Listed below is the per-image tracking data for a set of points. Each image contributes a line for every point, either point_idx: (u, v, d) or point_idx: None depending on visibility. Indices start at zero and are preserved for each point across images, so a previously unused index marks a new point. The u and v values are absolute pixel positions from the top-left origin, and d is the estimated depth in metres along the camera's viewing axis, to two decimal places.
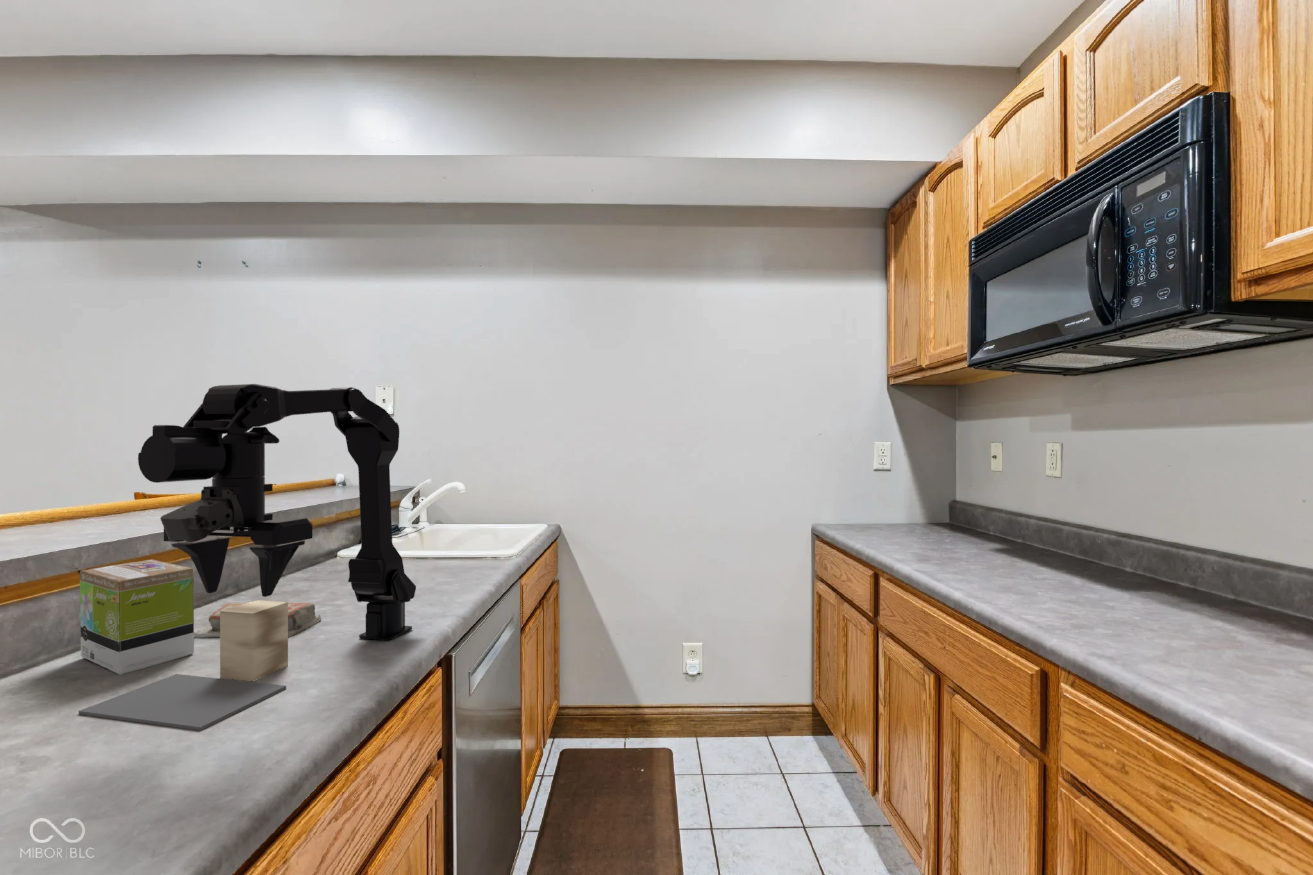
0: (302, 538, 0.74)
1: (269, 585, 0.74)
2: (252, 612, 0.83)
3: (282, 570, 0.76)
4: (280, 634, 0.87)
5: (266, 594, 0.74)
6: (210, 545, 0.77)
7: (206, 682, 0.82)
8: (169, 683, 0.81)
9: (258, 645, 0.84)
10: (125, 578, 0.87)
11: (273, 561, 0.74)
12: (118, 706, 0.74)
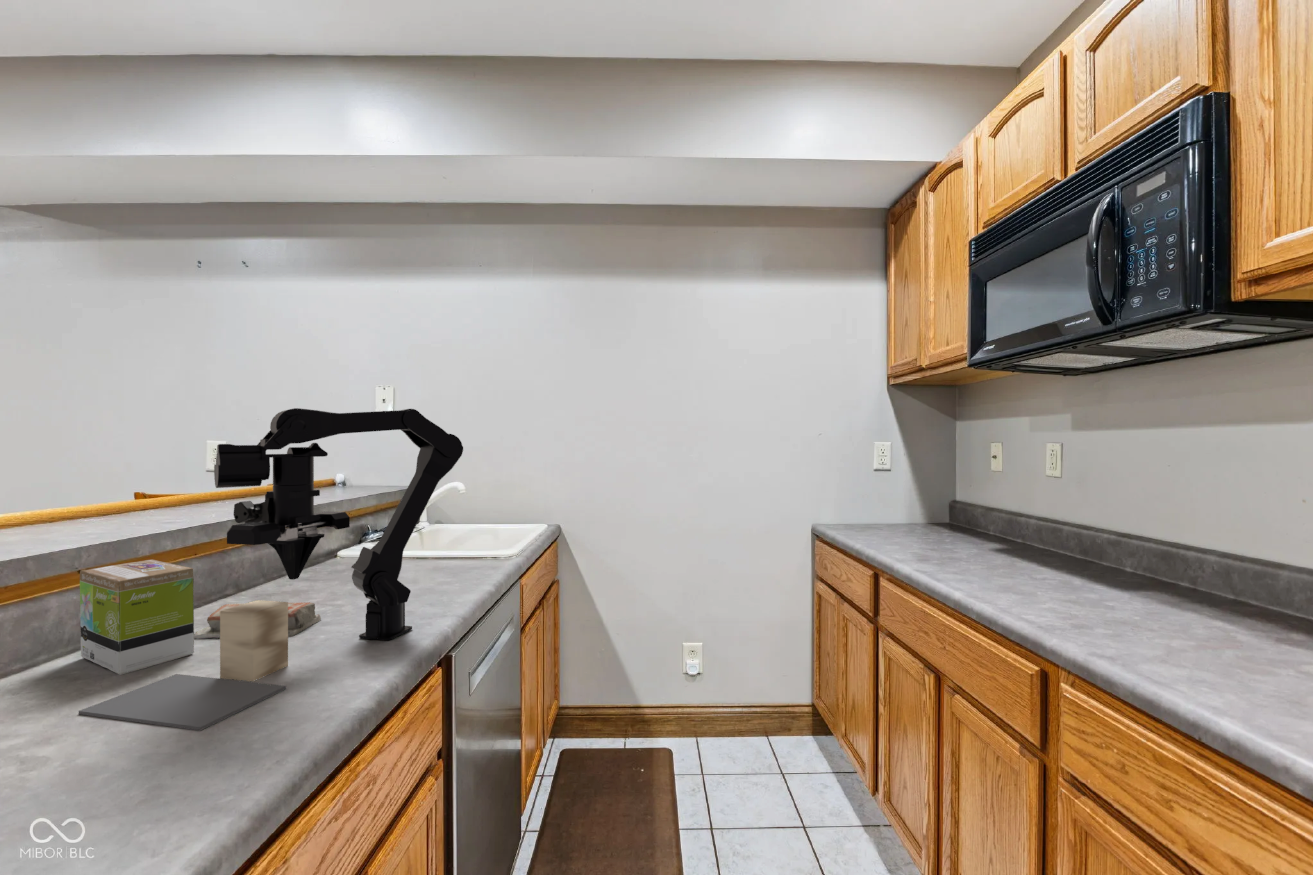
0: (245, 543, 0.84)
1: (288, 571, 0.93)
2: (252, 612, 0.83)
3: (293, 561, 0.92)
4: (280, 634, 0.87)
5: (289, 577, 0.93)
6: None
7: (206, 682, 0.82)
8: (169, 683, 0.81)
9: (258, 644, 0.84)
10: (125, 578, 0.87)
11: (285, 552, 0.92)
12: (118, 706, 0.74)
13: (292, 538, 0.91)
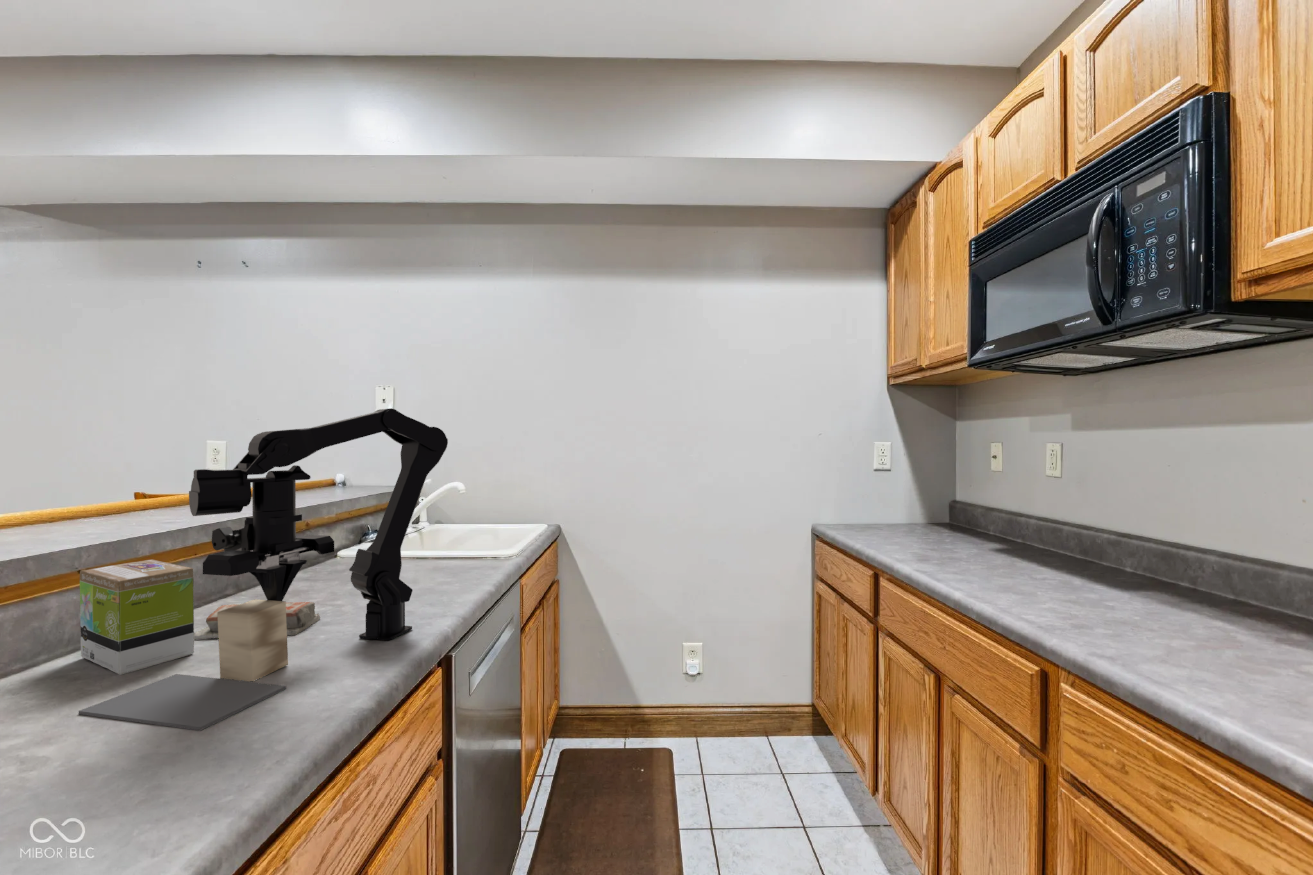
0: (221, 573, 0.81)
1: (269, 599, 0.89)
2: (249, 613, 0.83)
3: (274, 590, 0.88)
4: (279, 633, 0.87)
5: None
6: None
7: (206, 682, 0.82)
8: (169, 683, 0.81)
9: (256, 645, 0.83)
10: (125, 578, 0.87)
11: (266, 580, 0.89)
12: (118, 706, 0.74)
13: (273, 566, 0.87)
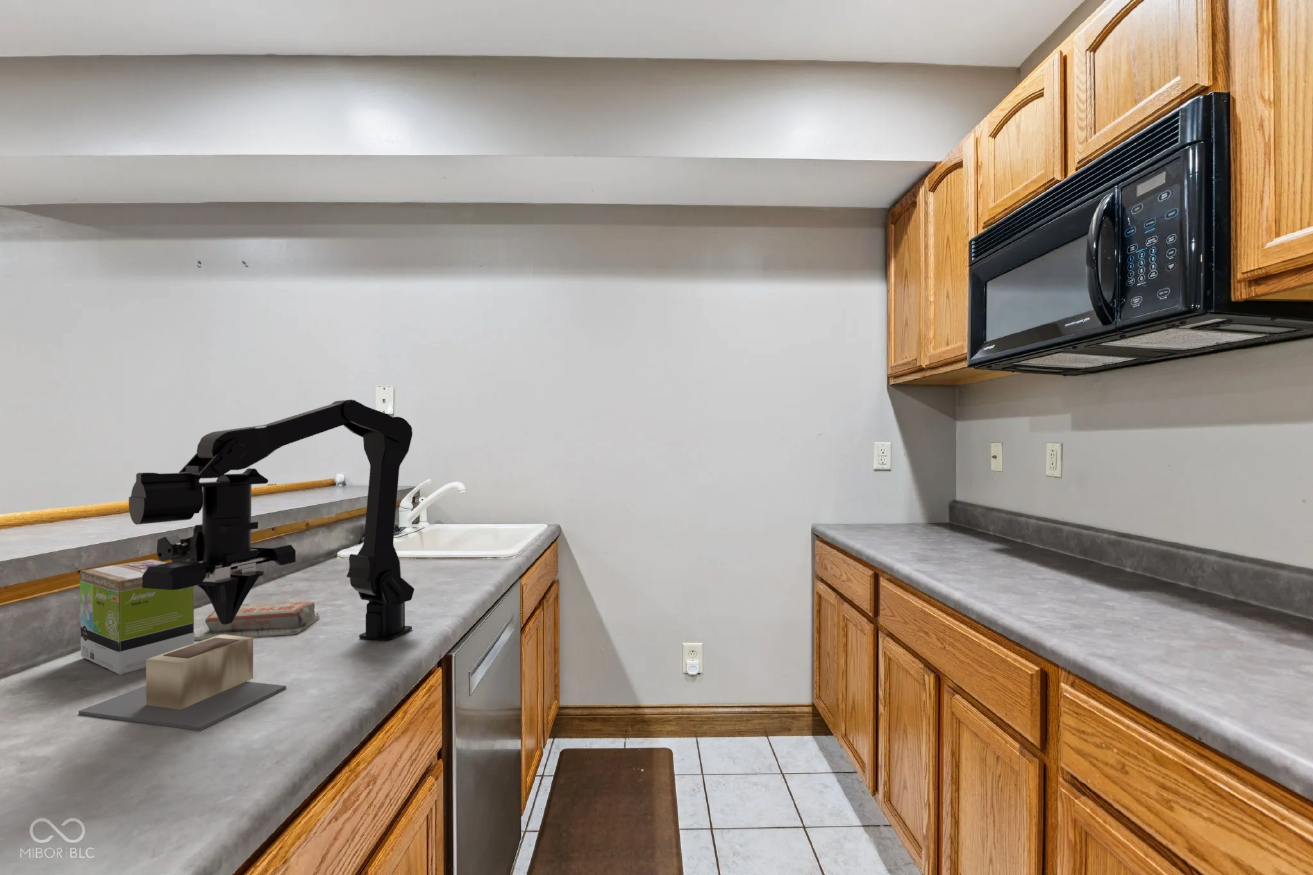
0: (162, 587, 0.73)
1: (220, 615, 0.81)
2: (177, 706, 0.73)
3: (225, 605, 0.81)
4: (216, 660, 0.78)
5: (221, 622, 0.82)
6: None
7: None
8: None
9: (218, 687, 0.78)
10: (125, 578, 0.87)
11: (216, 593, 0.81)
12: (118, 706, 0.74)
13: (223, 579, 0.80)
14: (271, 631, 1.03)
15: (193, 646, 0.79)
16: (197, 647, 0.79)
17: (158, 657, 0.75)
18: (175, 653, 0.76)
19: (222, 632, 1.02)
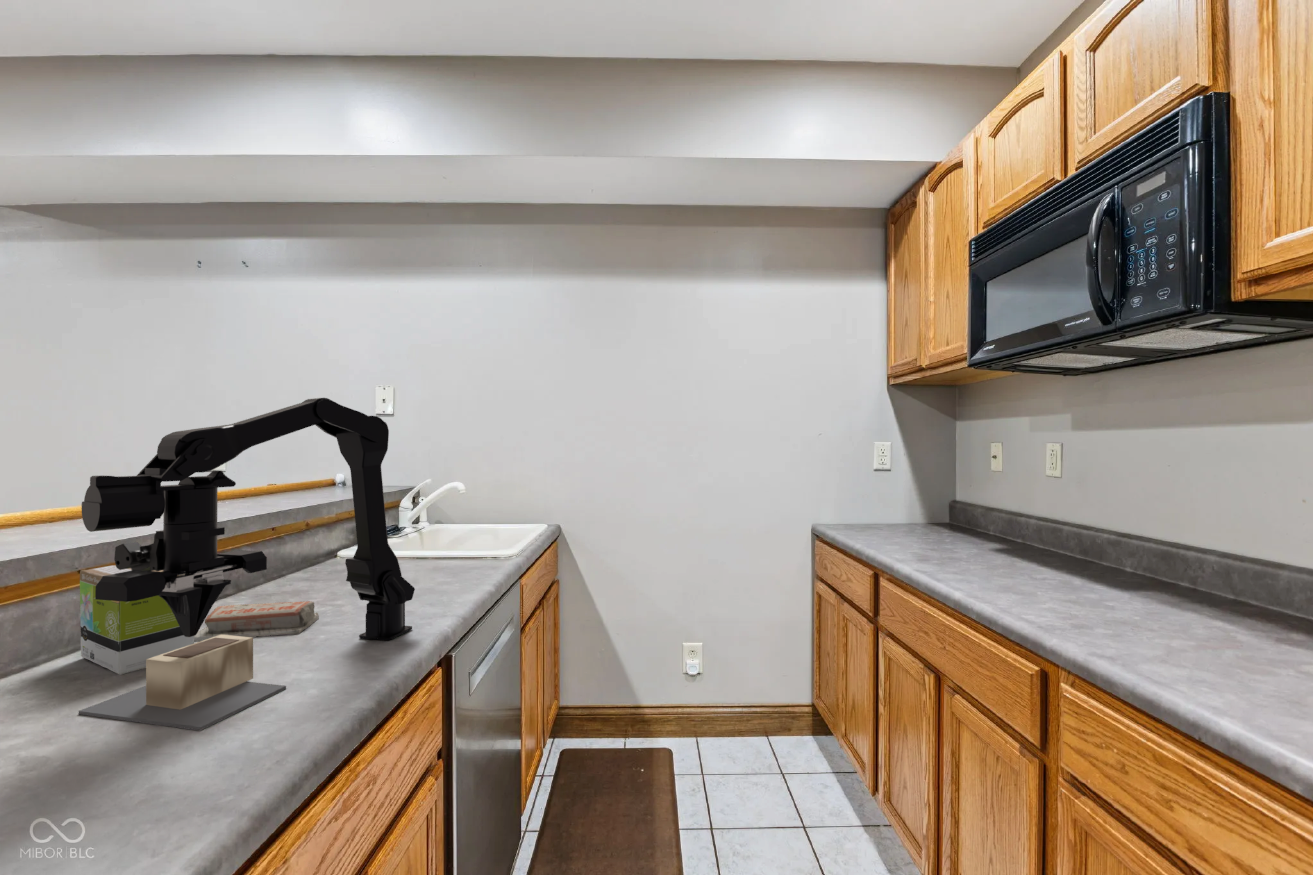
0: (116, 599, 0.68)
1: (183, 627, 0.76)
2: (177, 706, 0.73)
3: (188, 616, 0.76)
4: (216, 660, 0.78)
5: (185, 634, 0.77)
6: None
7: None
8: None
9: (218, 687, 0.78)
10: None
11: (179, 604, 0.76)
12: (118, 706, 0.74)
13: (185, 588, 0.75)
14: (272, 631, 1.03)
15: (193, 646, 0.79)
16: (197, 647, 0.79)
17: (158, 657, 0.75)
18: (175, 653, 0.76)
19: (222, 632, 1.02)
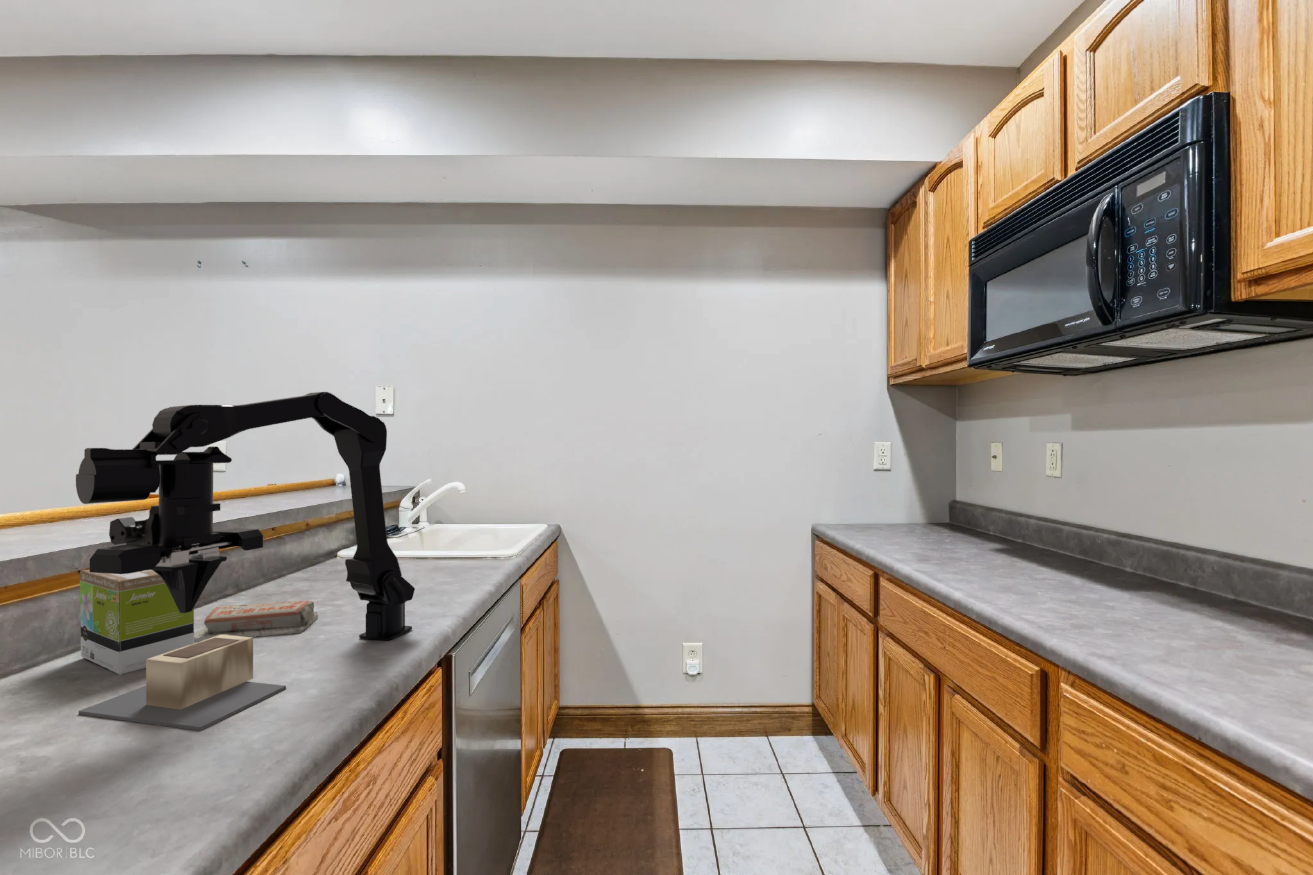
0: (110, 571, 0.67)
1: (178, 603, 0.76)
2: (177, 706, 0.73)
3: (183, 592, 0.75)
4: (216, 660, 0.78)
5: (180, 610, 0.76)
6: None
7: None
8: None
9: (218, 687, 0.78)
10: (125, 578, 0.87)
11: (174, 579, 0.75)
12: (118, 706, 0.74)
13: (180, 563, 0.74)
14: (274, 631, 1.03)
15: (193, 646, 0.79)
16: (197, 647, 0.79)
17: (158, 657, 0.75)
18: (175, 653, 0.76)
19: (222, 632, 1.02)
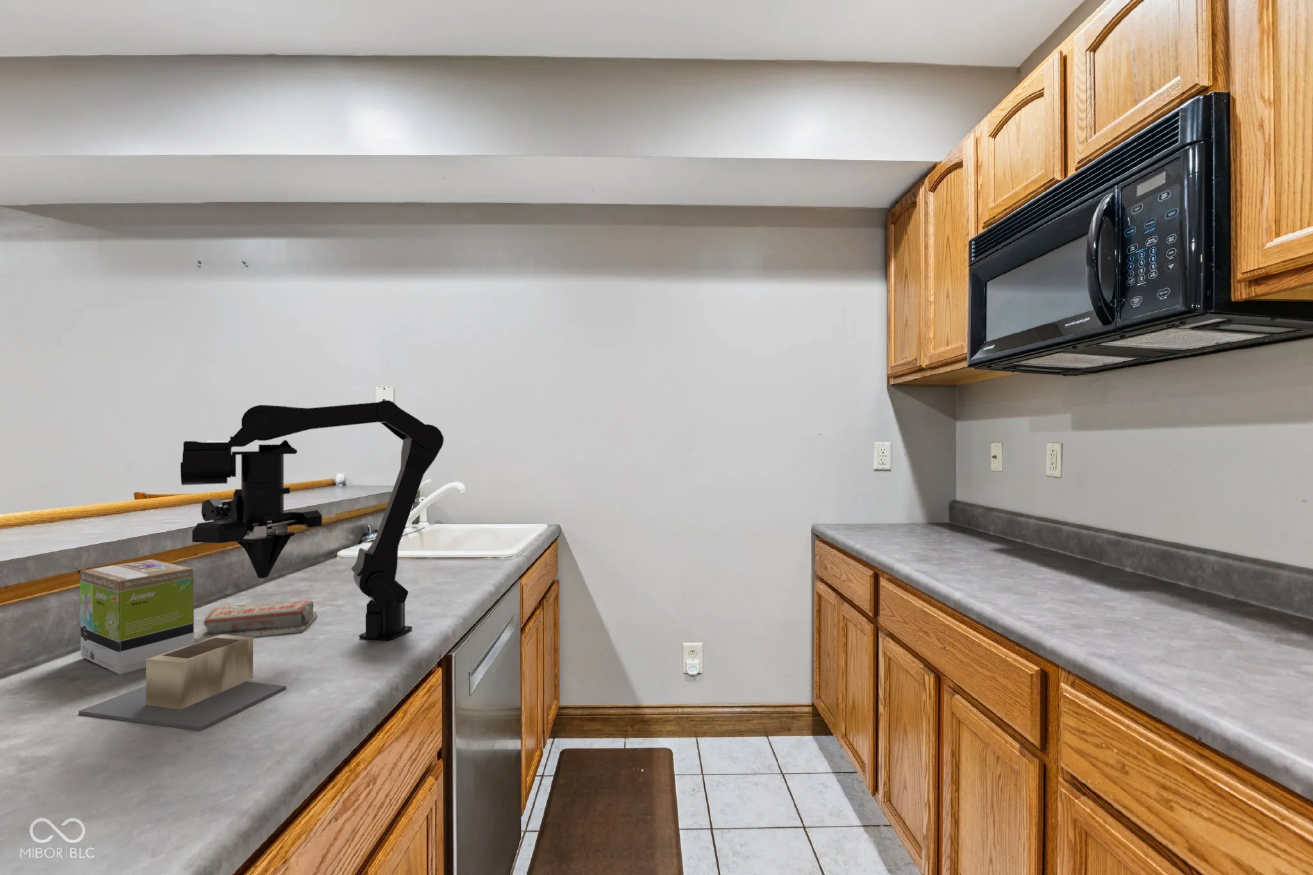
0: (210, 541, 0.83)
1: (257, 569, 0.92)
2: (177, 706, 0.73)
3: (262, 560, 0.91)
4: (216, 660, 0.78)
5: (258, 576, 0.92)
6: None
7: None
8: None
9: (218, 687, 0.78)
10: (125, 578, 0.87)
11: (254, 550, 0.91)
12: (118, 706, 0.74)
13: (260, 536, 0.90)
14: (275, 630, 1.03)
15: (193, 646, 0.79)
16: (197, 647, 0.79)
17: (158, 657, 0.75)
18: (175, 653, 0.76)
19: (222, 633, 1.02)
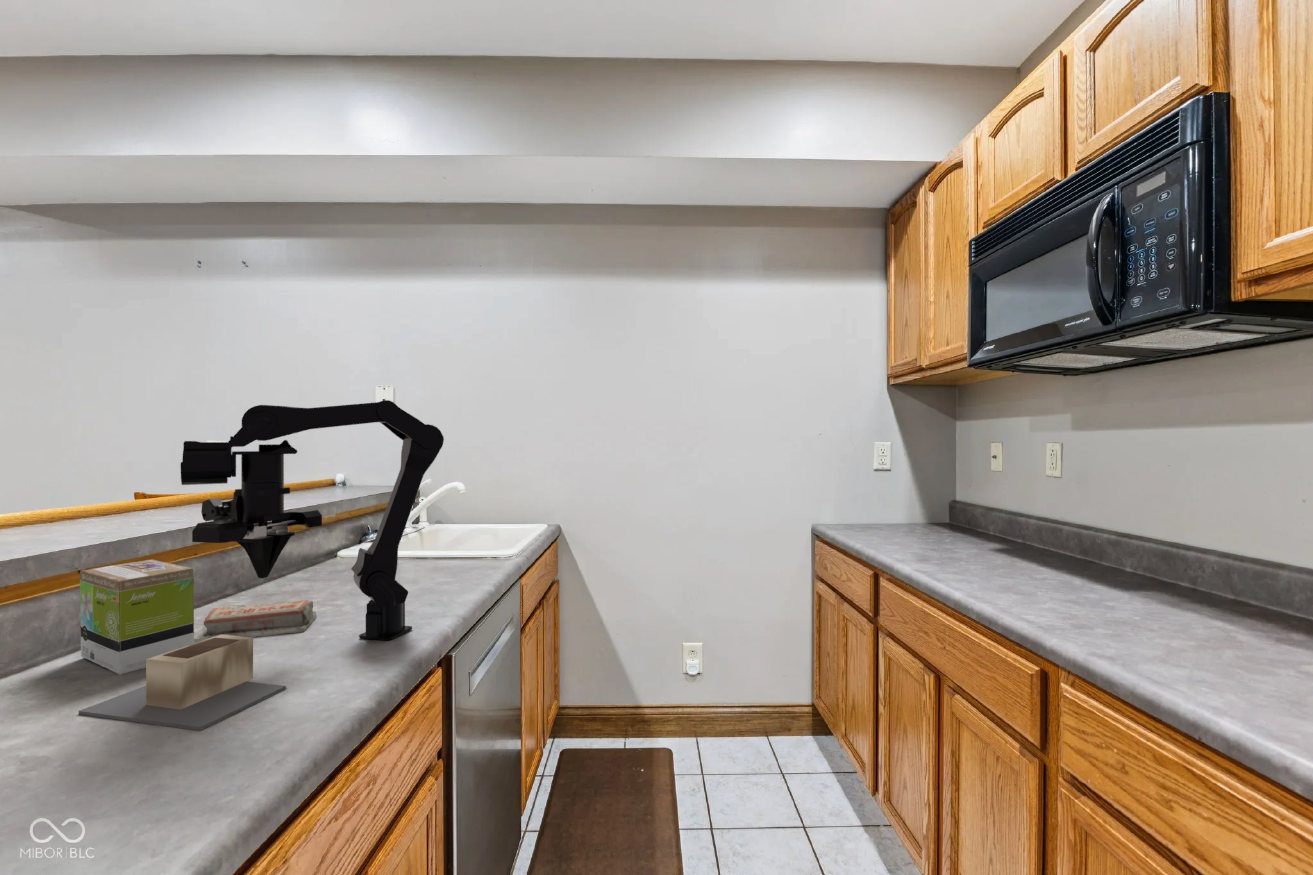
0: (210, 541, 0.83)
1: (257, 569, 0.92)
2: (177, 706, 0.73)
3: (262, 560, 0.91)
4: (216, 660, 0.78)
5: (258, 576, 0.92)
6: None
7: None
8: None
9: (218, 687, 0.78)
10: (125, 578, 0.87)
11: (254, 550, 0.91)
12: (118, 706, 0.74)
13: (260, 536, 0.90)
14: (276, 630, 1.03)
15: (193, 646, 0.79)
16: (197, 647, 0.79)
17: (158, 657, 0.75)
18: (175, 653, 0.76)
19: (223, 633, 1.02)
